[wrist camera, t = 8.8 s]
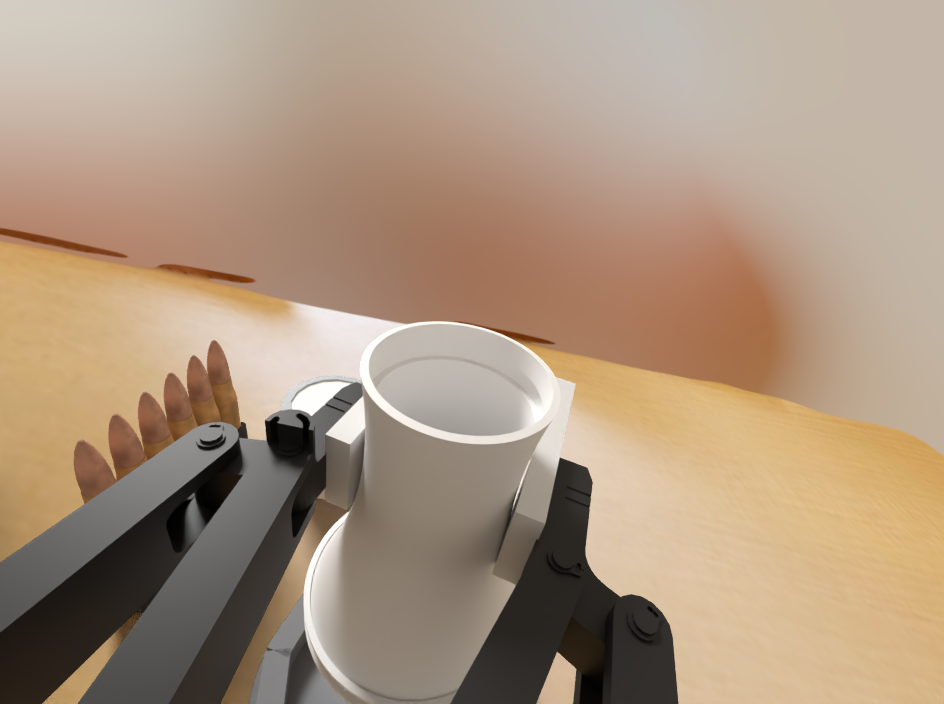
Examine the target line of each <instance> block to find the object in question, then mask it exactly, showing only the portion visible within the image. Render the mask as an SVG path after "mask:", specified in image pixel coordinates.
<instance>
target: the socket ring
mask: <svg viewBox="0 0 944 704" xmlns="http://www.w3.org/2000/svg"><path fill="white" fill-rule="evenodd" d="M303 600H304V593H303V595H302V596H301V598H300V599H299V601H298V602H297V603H296V605H295V606H294V608H293V609H292V611H291V612H290V614H289V615H288V616H287V618H286V619H285V620H284V622H283V623H282V624H281V626H280V627H279V629H278V631H277V632H276V634H275V636H274V637H273V639H272V640H271V642H270V643H269V645H268V646H267V650H266V651H265V655H264V657H263V659H262V661H261V664H260V666H259V669H258V672H257V675H256V678H255V681H254V684H253V688H252V692H251V696H250V701H249V704H349V703H347V702H346V701H345V700H343V699H342V698H341V697H340V696H339V695H338V694H337V693H336V692H335V691H334V690H333V689H332V688H331V687H330V686H329V684H328V683H327V682H326V681H325V679H324V678H323V676H322V675H321V673H320V672H319V670H318V668H317V666H316V664H315V662H314V660H313V658H312V655H311V652H310V650H309V647H308V642H307V638H306V633H305V625H304V602H303Z"/></svg>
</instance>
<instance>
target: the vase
mask: <svg viewBox="0 0 944 704" xmlns="http://www.w3.org/2000/svg"><path fill="white" fill-rule="evenodd" d="M390 366H391V367H390ZM493 368H494V369H493ZM360 376H361V383H362V390H363V399H364V412H365V448H364V459H363V466H362V472H361V477H360V482H359V486H358V490H357V493H356V496H355V499H354V502H353V504H352V507H351V509H350V511H349V512H348V513H346V514H345V515H344V516H343V517H341V518H340V519H339V520H338V521H337V522H336V523H335V524H334V525H333V526H332V527H331V529H330V530H329V531H328V532H327V533H326V535H325V536H324V538H323V539H322V541H321V542H320V544H319V545H318V547H317V549H316V551H315V553H314V555H313V557H312V560H311V562H310V565H309V568H308V572H307V576H306V580H305V586H304V600H303V602H304V625H305V633H306V638H307V642H308V647H309V650H310V652H311V655H312V658H313V660H314V662H315V664H316V666H317V668H318V670H319V672H320V673H321V675H322V676H323V678H324V679H325V681H326V682H327V683H328V684H329V686H330V687H331V688H332V689H333V690H334V691H335V692H336V693H337V694H338V695H339V696H340V697H341V698H342V699H343V700H345V701H346V702H347V703H349V704H450V703H451V701H452V699H453V698H454V696H455V694H456V692H457V690H458V689H459V687H460V685H461V683H462V681H463V680H464V678H465V676H466V674H467V673H468V671H469V669H470V667H471V665H472V664H473V662H474V660H475V658H476V656H477V655H478V653H479V651H480V649H481V647H482V646H483V644H484V642H485V640H486V638H487V637H488V635H489V633H490V631H491V629H492V628H493V626H494V624H495V622H496V621H497V619H498V617H499V615H500V613H501V612H502V610H503V608H504V606H505V604H506V603H507V601H508V599H509V597H510V595H511V594H512V592H513V590H514V588H515V586H516V585H515V584H513V583H510V582H508V581H506V580H504V579H501V578H499V577H497V576H495V575H492V572H493V569H494V566H495V563H496V560H497V557H498V554H499V551H500V548H501V545H502V542H503V539H504V536H505V533H506V530H507V527H508V524H509V521H510V517H511V512H512V508H513V504H514V500H515V496H516V493H517V490H518V487H519V485H520V482H521V479H522V476H523V474H524V472H525V469H526V467H527V465H528V463H529V460H530V459H531V457H532V455H533V453H534V451H535V449H536V447H537V445H538V443H539V441H540V439H541V438H542V436H543V434H544V433H545V431H546V429H547V428H548V426H549V425H550V423H551V421H552V420H553V418H554V417H555V415H556V414H557V412H558V409H559V406H560V400H561V394H560V388H559V385H558V382H557V380H556V378H555V376H554V374H553V373H552V371H551V370H550V368H549V367H548V366H547V365H546V364H545V362H544V361H543V360H542V359H540V358H539V357H538V356H537V355H536V354H535V353H533V352H532V351H531V350H529V349H528V348H526V347H525V346H523V345H522V344H520V343H518V342H516V341H515V340H513V339H511V338H508V337H506V336H504V335H502V334H499V333H497V332H494V331H491V330H488V329H484V328H481V327H477V326H473V325H468V324H462V323H454V322H421V323H414V324H408V325H404V326H400V327H397V328H394V329H392V330H390V331H387V332H385V333H384V334H382V335H380V336H379V337H377V338H376V339H375V340H374V341H372V342H371V343H370V344H369V346H368V347H367V348H366V350H365V351H364V353H363V355H362V358H361V362H360ZM516 382H517V383H516ZM330 538H331V539H330ZM323 549H324V550H323Z"/></svg>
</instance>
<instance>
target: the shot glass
mask: <svg viewBox="0 0 944 704" xmlns="http://www.w3.org/2000/svg"><path fill="white" fill-rule="evenodd" d="M355 382H358V383H361V381H359V380H357V379H354V378H349V377H343V376H323V377H317V378H314V379H310V380H307V381H304V382H302V383H300V384H299V385H297V386H295V387H294V388H292V389H291V390H289V392H288V393H287V395H286V396H285V398H284V399H283V401H282V404H281V411H282V410H288V409H294V410H301V411H304V412H307V413H309V414H310V415H311V416H312V415H313V414H314V413H316V412H317V411H318V410H319V409H320V408H321V407H322V406H323V405H324V406H325V403H326V402H328V401H329V400H330V399H331V398H333V396H334V395H335V394H336V393H337V392H338V391H340V390H341V389H342V388H343V387H345V386H348V385H350V384H352V383H355ZM361 384H362V383H361ZM317 499H323V500H325V489H324V490H323V491H322V493H321V494H320V495H319V496H318V497H317Z"/></svg>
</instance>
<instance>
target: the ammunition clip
mask: <svg viewBox="0 0 944 704" xmlns="http://www.w3.org/2000/svg"><path fill="white" fill-rule="evenodd" d="M207 371H208V374H207V372H206V370H205V368H204V366H203V364H202V362H201V361H200V360H199V359H198V358H197V357H196V356H195V355H193V356H192V357H191V358H190V361H189V364H188V369H187V388H188V393H189V397H188V395H187V392H186V390H185V388H184V386H183V384H182V383H181V381H180V380H179V379H178V377H177V376H176V375H175V374H173V373H169V374H168V375H167V378H166V380H165V386H164V403H165V410H166V415H167V416H166V417H167V420H166V417H165V415H164V413H163V410H162V409H161V407H160V405H159V404H158V402H157V401H156V400H155V399H154V398H153V396H152V395H150V394H149V393H148V392H143V393H142V395H141V397H140V400H139V407H138V419H139V427H140V432H141V435H142V443H143V447H144V451H143V448H142V445H141V442H140V440H139V438H138V436H137V434H136V433H135V431H134V430H133V428H132V427H131V426H130V424H129V423H128V422H127V421H126V420H125V419H124V418H123V417H121V416H120V415H118V414H114V415H113V416H112V418H111V420H110V424H109V446H110V452H111V455H112V458H113V461H114V468H115V471H116V475H117V481H119V480H120V479H122V478H123V477H125V476H126V475H128V474H129V473H130V472H132V471H133V470H135V469H136V468H138V467H139V466H141V465H142V464H143V463H145V462H146V461H148V460H149V459H151V458H152V457H154V456H155V455H156V454H158V453H159V452H161V451H162V450H164V449H165V448H167V447H168V446H169V445H171V444H172V443H174V442H175V441H177V440H178V439H180V438H181V437H183V436H184V435H185V434H187V433H188V432H190V431H191V430H193V429H195V428H197V427H199V426H201V425H204V424H208V423H212V422H223V423H228V424H231V425H232V426H234V427H235V428H237V431H238V433H239V438H245V439H248V435H247V429H246V424H245V423H243V422H241V424H240V417H239V409H238V402H237V396H236V393H235V390H234V388H233V386H232V381H231V376H230V372H229V367H228V363H227V360H226V357H225V354H224V352H223V350H222V348H221V346H220V345H219V344H218V342H217V341H215V340H213V341H212V342H211V344H210V346H209V350H208V356H207ZM74 470H75V474H76V479H77V482H78V485H79V487H80V489H81V495H82V498H83V501H84V503H85V504H86V503H87V502H89V501H90V500H91V499H93V498H94V497H96V496H97V495H99V494H100V493H102V492H103V491H104V490H106V489H107V488H109V487H110V486H112V485H113V484H115V483H116V482H117V481H116V479H115V478H114V476H113V473H112V471H111V469H110V467H109V465H108V464H107V462H106V460H105V459H104V458H103V456H102V455H101V454H100V452H99V451H98V450H97V449H96V448H95V447H94V446H93V445H91V444H90V443H88V442H87V441H85V440H79V441H78V442H77V444H76V447H75V451H74ZM162 587H163V586H162ZM162 587H161V588H162ZM161 588H160V589H161ZM160 589H159V590H158V591H157V592H156V593H155V594H154V595H153V596H152V597H150V598H149V599H148V600H147V601H146V602H145V603H144V604H143V605H142V606H141V607H140V608H139V609H138V610H137V611H136V612H141V613H144V611H145V610H146V609H147V607H148V606H149V604H150V603H151V602H152V600H153V599H154V598H155V596H156V595H157V593H158V592H159V591H160Z"/></svg>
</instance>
